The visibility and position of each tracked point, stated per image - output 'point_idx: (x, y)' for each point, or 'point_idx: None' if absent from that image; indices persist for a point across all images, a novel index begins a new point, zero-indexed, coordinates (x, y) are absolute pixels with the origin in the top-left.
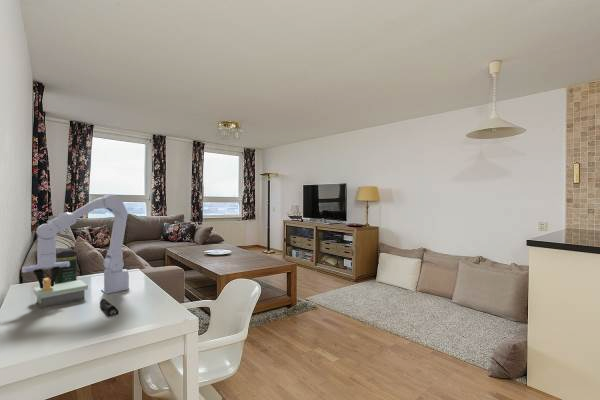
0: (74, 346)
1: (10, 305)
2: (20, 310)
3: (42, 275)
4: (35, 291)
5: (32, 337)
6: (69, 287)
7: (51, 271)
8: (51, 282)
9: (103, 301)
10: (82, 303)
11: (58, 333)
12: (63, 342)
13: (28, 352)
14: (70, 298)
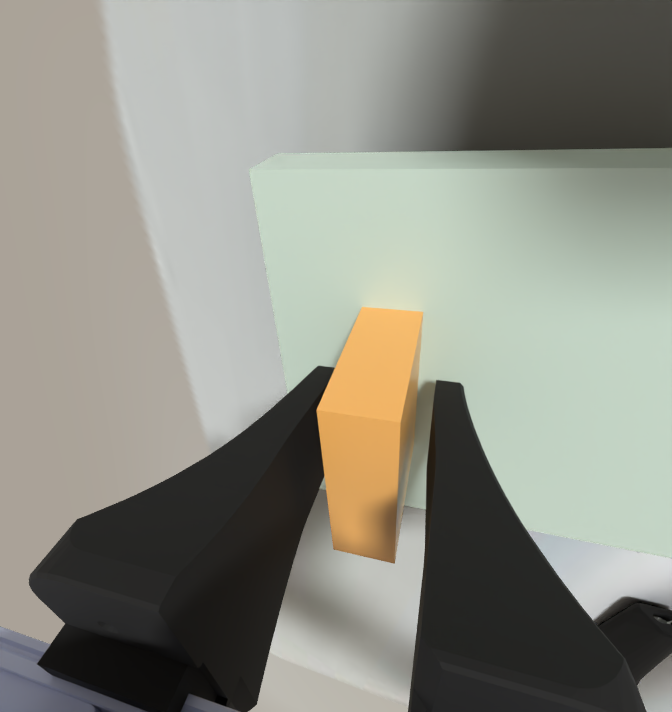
0: (384, 692)
1: (140, 85)
2: (243, 323)
3: (269, 626)
4: (284, 343)
5: (308, 611)
6: (596, 509)
7: (416, 653)
8: (428, 467)
9: (633, 659)
10: None
11: (370, 639)
12: (369, 671)
13: (300, 649)
14: None
